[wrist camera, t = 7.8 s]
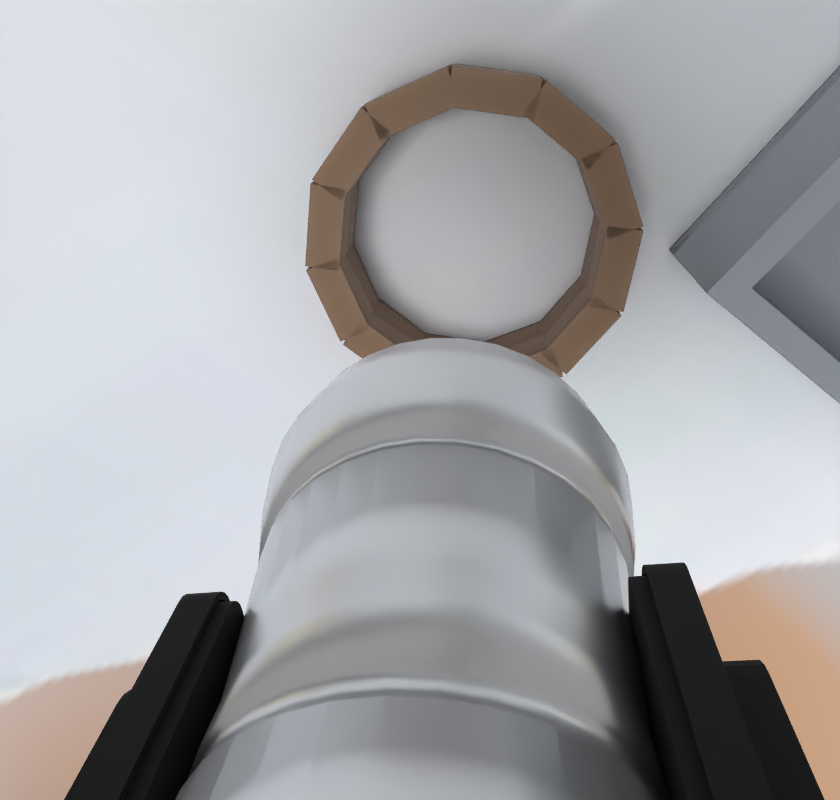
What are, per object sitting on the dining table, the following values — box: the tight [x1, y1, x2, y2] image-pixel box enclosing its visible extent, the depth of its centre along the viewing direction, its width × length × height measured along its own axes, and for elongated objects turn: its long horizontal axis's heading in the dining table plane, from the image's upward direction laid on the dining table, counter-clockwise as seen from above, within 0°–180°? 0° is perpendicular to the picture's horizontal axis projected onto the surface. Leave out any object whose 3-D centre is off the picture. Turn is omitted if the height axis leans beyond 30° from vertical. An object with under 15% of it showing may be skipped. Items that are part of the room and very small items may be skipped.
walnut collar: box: [305, 64, 643, 377], centre depth 36 cm, size 14×14×4 cm
